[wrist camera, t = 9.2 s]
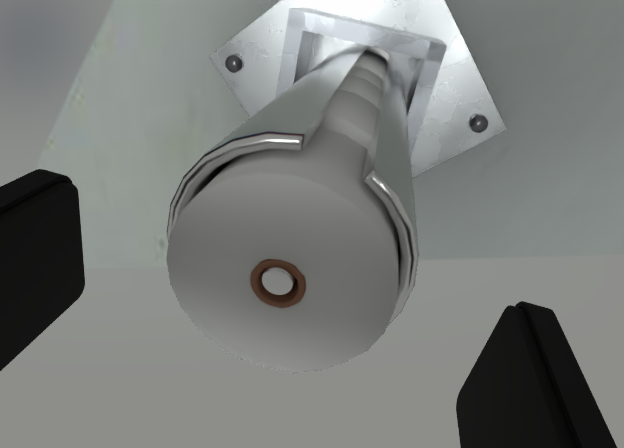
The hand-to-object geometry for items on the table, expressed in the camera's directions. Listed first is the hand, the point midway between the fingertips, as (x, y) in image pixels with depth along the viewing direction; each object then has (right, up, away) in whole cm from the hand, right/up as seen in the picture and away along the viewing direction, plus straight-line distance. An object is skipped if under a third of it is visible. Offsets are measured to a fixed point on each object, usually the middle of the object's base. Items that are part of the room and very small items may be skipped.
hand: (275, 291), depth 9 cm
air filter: (+4, +11, +23) cm, 26 cm away
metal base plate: (+4, +12, +24) cm, 27 cm away
